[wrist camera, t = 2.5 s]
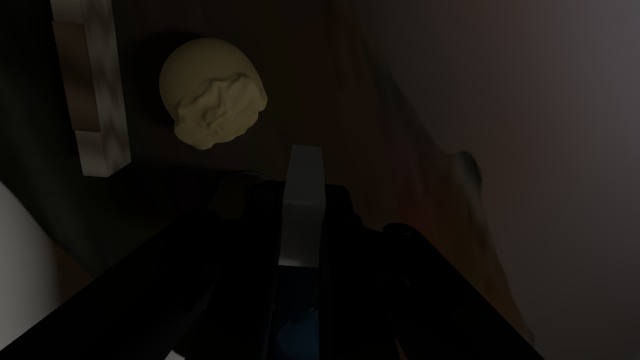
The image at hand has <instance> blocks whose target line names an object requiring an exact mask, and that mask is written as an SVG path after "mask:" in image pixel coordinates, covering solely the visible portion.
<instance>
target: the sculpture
mask: <svg viewBox="0 0 640 360" xmlns="http://www.w3.org/2000/svg"><path fill="white" fill-rule="evenodd" d="M159 89H160V94H161V98H162V100H163V103H164V105H165V107H166V109H167V110H168V112H169V113H170V115H171V116H172V118H173V119H174V121H175V124H174V132H175V134H176V136H177V137H178V138H179V139H180V140H182V141H184V142H185V143H187V144H190V145H193V146H194V147H196V148H197V149H201V150H204V149H207V148H210V147H211V146H212V145H213V144H214V143H219V142H227V141H230V140H232V139H234V138H235V137H236V136H239V135H241V134H244V133H245V132H246V130H247V128H249V127H251V126H252V125H253V124H254V123H255V121H256V120H257V118H258V112H259V111H262V110H264V108H265V106H266V103H267V95H266V94H265V91H264V88H263V85H262V82H261V79H260V77H259V75H258V73H257V72H256V70H255V68H254V67H253V65H252V63H251V62H250V61H249V59H248V58H247V57H246V56H245V55H244V54H243V53H242V52H241V51H240V50H239V49H238V48H236V47H235V46H233V45H232V44H230V43H228V42H226V41H224V40H221V39H217V38H199V39H195V40H192V41H189V42H187V43H185V44H183V45H181V46H180V47H178V48H177V49H176V50H175V51H174V52H172V54H171V55H170V56H169V57H168V58H167V60H166V61H165V63H164V65H163V67H162V70H161V73H160V78H159Z"/></svg>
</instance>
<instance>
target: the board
mask: <svg viewBox="0 0 640 360" xmlns="http://www.w3.org/2000/svg"><path fill="white" fill-rule="evenodd" d="M50 1H51V7H52V12H53V17H54V21H52V25H53V30H54V36H55V41H56V46H57V51H58V57H59V62H60V67H61V72H62V77H63V83H64V88H65V93H66V98H67V103H68V109H69V114H70V119H71V124H72V130H75V134H76V139H77V144H78V150H79V155H80V160H81V165H82V171H83V175H87V176H98V177H109V176H110V175H112V174H113V173H115V172H116V171H118V170H120V169H121V168H123V167H124V166H126V165H127V164H129V163H130V162H131V155H130V147H129V139H128V131H127V123H126V115H125V107H124V99H123V91H122V83H121V75H120V68H119V60H118V52H117V44H116V36H115V28H114V20H113V12H112V4H111V0H50Z"/></svg>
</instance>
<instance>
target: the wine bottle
mask: <svg viewBox="0 0 640 360" xmlns="http://www.w3.org/2000/svg"><path fill="white" fill-rule="evenodd" d="M318 269H319V264H318V268H317V267H302V266H288V265H283V266H282V270H281V274H280V278H279V283H278V291H277V298H276V305H275V313H274V320H273V327H272V335H271V342H270V348H271V351H272V353H273V355H274V358H275V360H319V320H318V293H316V285H317V277H318Z"/></svg>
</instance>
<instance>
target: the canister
mask: <svg viewBox="0 0 640 360" xmlns="http://www.w3.org/2000/svg"><path fill="white" fill-rule="evenodd" d="M265 180H270V179H269V178H267V177H265V176H264V175H262V174H260V173H256V172H251V171H244V172H237V173H234V174H232V175H230V176H228V177H227V178H225V179H224V180H223V181H222V182H221V183H220V184H219V186H218V188H217V190H216V193H215V196H214V197H213V199H212V200H211V202H210V203H209V205H208V206H207V208H206V209H211V210H214V211H217V212H218V213H219V214H220V216H221V220H230V219H236V218H240V217H242V215H243V213H244V205H245V189H246V187H247V186H250V185H252V184H258V183H262V182H263V181H265ZM207 303H208V302H207ZM206 305H207V304H206ZM206 305H205V306H204V308H206Z"/></svg>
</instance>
